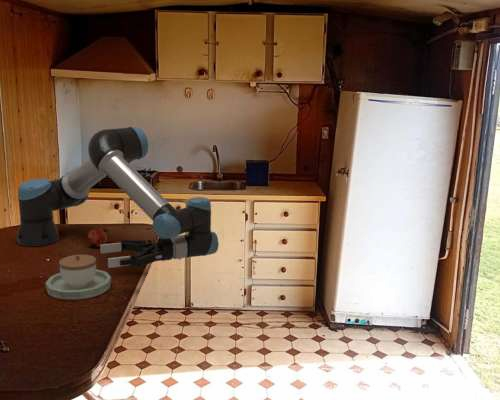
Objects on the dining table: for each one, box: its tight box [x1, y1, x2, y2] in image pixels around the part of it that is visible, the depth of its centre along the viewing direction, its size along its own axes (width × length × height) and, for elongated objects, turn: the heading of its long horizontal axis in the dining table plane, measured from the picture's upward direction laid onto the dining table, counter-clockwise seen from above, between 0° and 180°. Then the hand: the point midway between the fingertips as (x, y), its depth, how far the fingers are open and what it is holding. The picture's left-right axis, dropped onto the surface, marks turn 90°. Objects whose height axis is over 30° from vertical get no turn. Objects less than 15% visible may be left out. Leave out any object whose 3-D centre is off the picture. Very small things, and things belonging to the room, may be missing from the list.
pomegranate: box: [86, 228, 108, 248], centre depth 198 cm, size 7×7×10 cm
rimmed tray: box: [45, 268, 112, 301], centre depth 160 cm, size 18×18×2 cm
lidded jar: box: [58, 254, 97, 288], centre depth 159 cm, size 11×11×9 cm
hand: (104, 256), depth 162 cm, fingers open, 13 cm apart
